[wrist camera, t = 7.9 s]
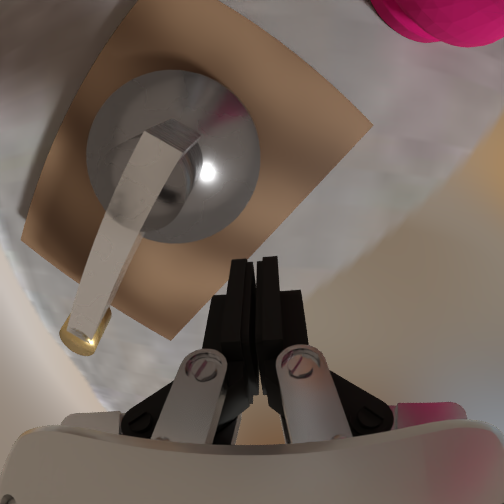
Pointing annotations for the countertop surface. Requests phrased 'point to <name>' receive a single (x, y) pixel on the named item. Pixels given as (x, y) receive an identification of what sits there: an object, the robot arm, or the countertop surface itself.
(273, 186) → the walnut board
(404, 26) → the pepper mill
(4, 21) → the countertop surface
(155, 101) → the dial
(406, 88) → the countertop surface
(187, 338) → the countertop surface
